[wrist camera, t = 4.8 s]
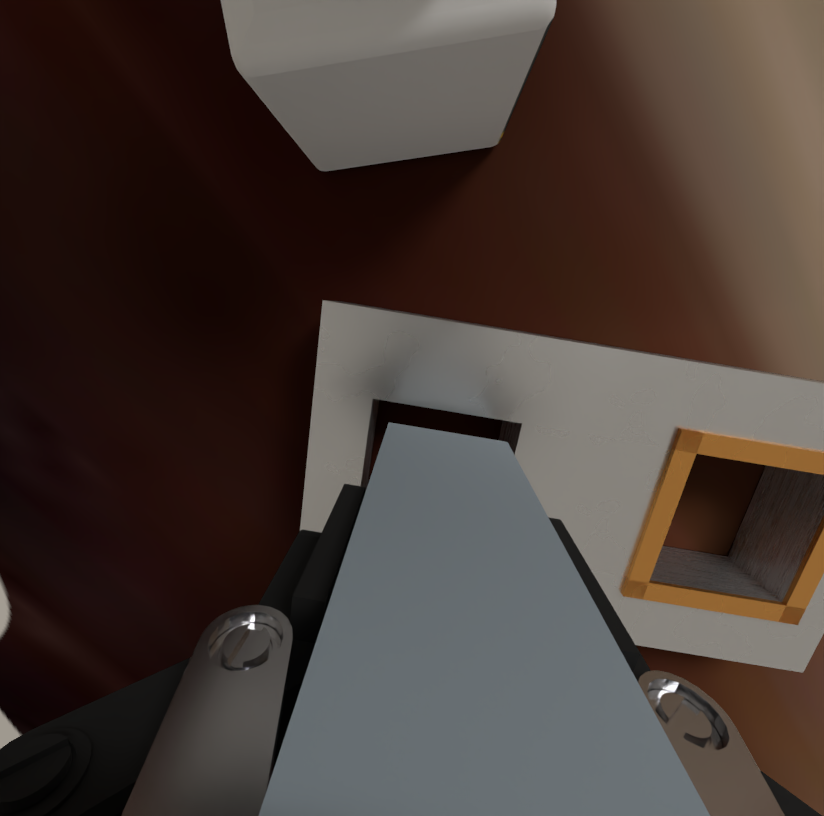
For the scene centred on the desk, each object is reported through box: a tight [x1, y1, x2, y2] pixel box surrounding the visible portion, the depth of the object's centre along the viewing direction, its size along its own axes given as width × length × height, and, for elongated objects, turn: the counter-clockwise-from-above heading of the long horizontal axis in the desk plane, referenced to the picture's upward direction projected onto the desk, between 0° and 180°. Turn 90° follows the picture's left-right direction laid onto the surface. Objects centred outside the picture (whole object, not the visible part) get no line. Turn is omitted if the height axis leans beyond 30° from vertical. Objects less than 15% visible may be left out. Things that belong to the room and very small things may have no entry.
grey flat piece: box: [300, 300, 824, 673], centre depth 17 cm, size 12×22×3 cm, turn 81°
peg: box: [259, 422, 710, 816], centre depth 8 cm, size 4×4×11 cm
